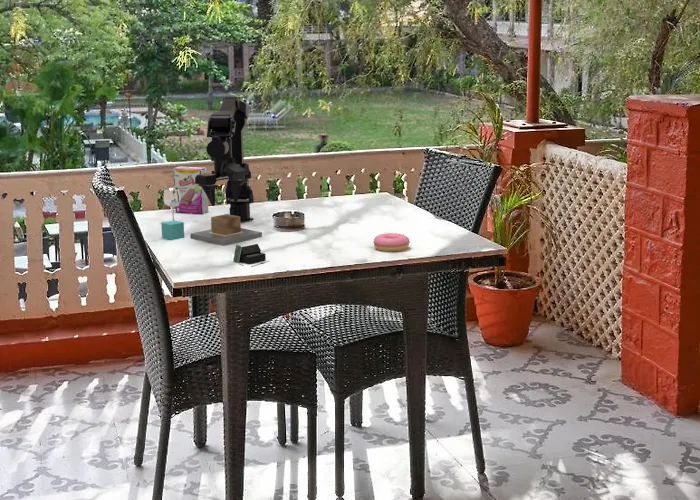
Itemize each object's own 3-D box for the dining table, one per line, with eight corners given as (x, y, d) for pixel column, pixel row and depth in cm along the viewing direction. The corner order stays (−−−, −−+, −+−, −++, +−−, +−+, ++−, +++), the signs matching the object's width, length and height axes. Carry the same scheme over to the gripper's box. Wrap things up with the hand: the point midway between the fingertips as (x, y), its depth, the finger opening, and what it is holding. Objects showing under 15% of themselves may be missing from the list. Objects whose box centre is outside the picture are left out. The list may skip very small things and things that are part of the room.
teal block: (174, 235, 308) (173, 220, 307) (184, 237, 304) (183, 222, 303) (162, 238, 304) (161, 222, 303) (171, 240, 301) (171, 224, 300)
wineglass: (174, 225, 322) (172, 190, 319) (161, 223, 325) (159, 189, 322) (185, 222, 327) (183, 188, 324) (173, 220, 330) (171, 186, 327)
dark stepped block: (256, 253, 284) (256, 235, 283) (288, 262, 273) (288, 243, 272) (215, 262, 274) (214, 243, 273) (246, 271, 263) (246, 252, 262)
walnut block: (227, 229, 308) (226, 214, 307) (240, 231, 303) (240, 216, 302) (211, 232, 303) (211, 217, 302) (225, 235, 299) (224, 219, 298)
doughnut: (398, 243, 294) (398, 229, 293) (416, 250, 285) (416, 236, 284) (367, 247, 290) (366, 233, 289) (384, 254, 280) (384, 240, 279)
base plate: (229, 229, 315) (228, 224, 314) (261, 236, 304) (261, 231, 304) (190, 238, 303) (190, 232, 303) (223, 245, 293) (223, 240, 292)
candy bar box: (174, 213, 344) (172, 168, 340) (181, 210, 348) (179, 166, 344) (202, 214, 340) (200, 169, 336) (209, 212, 345) (207, 167, 341)
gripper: (216, 160, 285) (218, 211, 289) (262, 153, 299) (263, 202, 302) (192, 156, 293) (195, 206, 296) (238, 150, 306) (240, 198, 310)
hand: (224, 203), depth 301 cm, fingers open, 9 cm apart
